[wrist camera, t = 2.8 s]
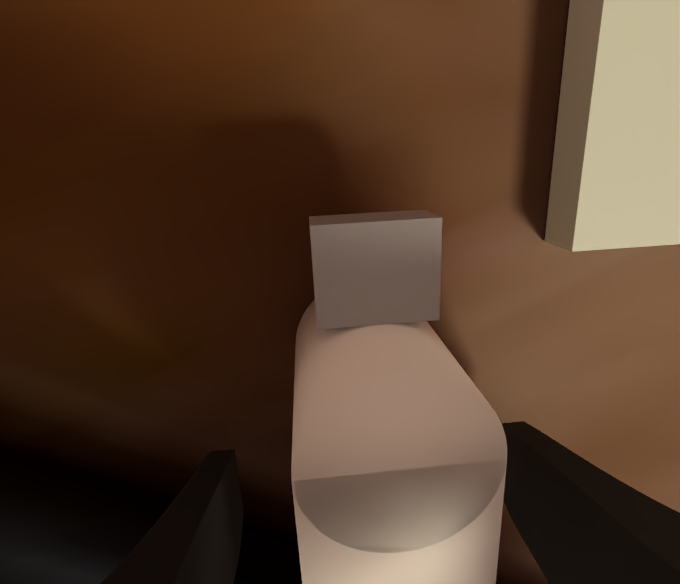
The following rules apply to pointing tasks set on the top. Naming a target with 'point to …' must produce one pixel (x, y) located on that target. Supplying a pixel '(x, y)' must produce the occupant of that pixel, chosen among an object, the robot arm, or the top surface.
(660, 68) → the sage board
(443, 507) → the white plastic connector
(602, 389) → the top surface
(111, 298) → the top surface
